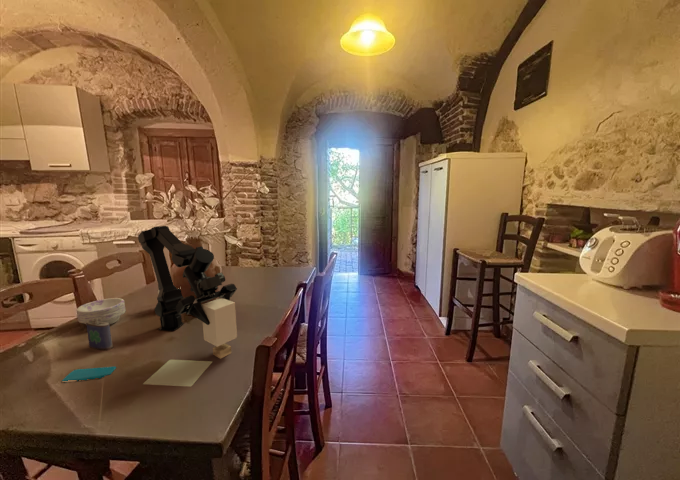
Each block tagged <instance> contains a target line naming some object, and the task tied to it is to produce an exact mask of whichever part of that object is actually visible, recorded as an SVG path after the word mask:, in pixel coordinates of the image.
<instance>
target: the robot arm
mask: <svg viewBox="0 0 680 480" xmlns="http://www.w3.org/2000/svg"><path fill="white" fill-rule="evenodd" d="M137 241H138V242H139V243H140V246H141V248H142V249H143V250H144V251H145V252H146V253H148V255H149V258H150V261H151V265H152V267H153V271H154V275H155V277H156V281H157V286H158V285H159V289H160V291H159V294H158V293H157V297H156V298H157V303H156V305H155V308H154V312H155V315H156V316H158V317H159V320H160V327H159V328H158V329H157V330H158V331H162V332H163V331H164V332H166V331H168V332H175V331H176V330H177V329H179V328H180V327H181V326H183V325H184V324H185V322H183V319H182V315H183V314H186V315H190V316H192V317H195V318H196V319H198V320H199V321H201V323H203V322H204V323H205V324H207V325H209V324H210V322H209V319H208V318H207V316H206V314H205V312H204V311H203V309H202V306H201V304H203V303H206V302H209V301H210V300H211V301H212V300H216V299H219V298H224V299H226V300H229V301H231V300H230V299H231V297H233V295H234V294H235V292H236V291H237V290H238V288H237V285H235V283H229V284H225V285H223V283H224V282H226V277H225V275H224V273H223V272H218V273H216V274H214V276H207V274H206V272H207V271H208V269H209V268H210V266H211V265H212V263H213V261H214V259H215V255H214V253H213V252H211V251H210V250H208V249H207V248H204V247H203V246H196V247H193V246H192V245H189V244H185V243H183V242H182V241H181V240H180V239H179V238H178V237H177V236H176V235H175V234H174V233H173V232H172V231H171V230H170V228H169V226H168V225H159V226H154V227H152V228H149V229H147V230H146V229H145V230H142V231H140V233H139V234H138V236H137ZM164 248H165V249H167V250H168V251H169V252H170V254H171V261H172V262H173V263H172V264H174V265H175V267H176V268H183V267H185V269H183V273H182V278H183V279H184V278H186V280H187V281H188V284H189V285H190V289H189V290H190V292H193V294H194V295H195V296H194V295H192V294H191V295H188V296H185V297H184V296H183V293H182V289H181V288H180V289H181V290H180V289H179V288H178V289H177V288H176V287H175V286H174V285H173V282H172V280H173V278H172V275H171V272H170V268H169V265H168V262H167V258H166V256H165V252H164ZM218 286H222V287H221V288H220V290H218V289H219V287H218ZM159 289H158V290H159Z"/></svg>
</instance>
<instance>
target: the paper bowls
mask: <svg viewBox="0 0 680 480" xmlns="http://www.w3.org/2000/svg"><path fill="white" fill-rule="evenodd" d="M75 311H76V317H77V321H78V323H80V324H85V325H86V322H87V321H91V320H92V319H94V318H100V319H99V320H100V321H99V322H104V323H110V325H112V324H114V323H117V322H118V321H119V320H120V319H121V316H122V315H124V314H125V313H126V303H125V299H123V298H119V297H114V298H111V297H110V298H104V299H97V300H94V301H90V302H87V303H84V304H82V305H80V306H78V307H77V308H76V310H75Z"/></svg>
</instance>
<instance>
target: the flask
mask: <svg viewBox="0 0 680 480" xmlns="http://www.w3.org/2000/svg"><path fill="white" fill-rule="evenodd" d="M99 319H100V318H94V319H92V320H91V321H87V322H86V324H85V325H86V330H87V331H86V332H87V340H88V348H90V349H93V350H98V351H99V350H100V351H108V350H109V351H110V350H111V349H113V345H114V344H113V340H112V334H111V328H110V325H111V324H110V323H104V322H99V321H100V320H99Z"/></svg>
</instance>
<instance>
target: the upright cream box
mask: <svg viewBox="0 0 680 480" xmlns="http://www.w3.org/2000/svg"><path fill="white" fill-rule="evenodd" d="M201 306H202V309H203V311H204V312H205V314H206V316H207V318H208V319H209V322H210V324H209V325H207V324H205V323H204V322H202V332H203V340H204V341H205V342H208V343H209V344H210V345H213V347H218V346H220V345H222V344H224V343H225V344H227V343H228V342H230V341H233V340H235V339H237V338H238V330H237V328H238V327H237V311H236V302H234V301H232V300H230V301H229V300H226V299H224V298H219V297H218V298H215V299H212V300H211V301H210V300H209V301H206V302H203V303H201Z"/></svg>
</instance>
